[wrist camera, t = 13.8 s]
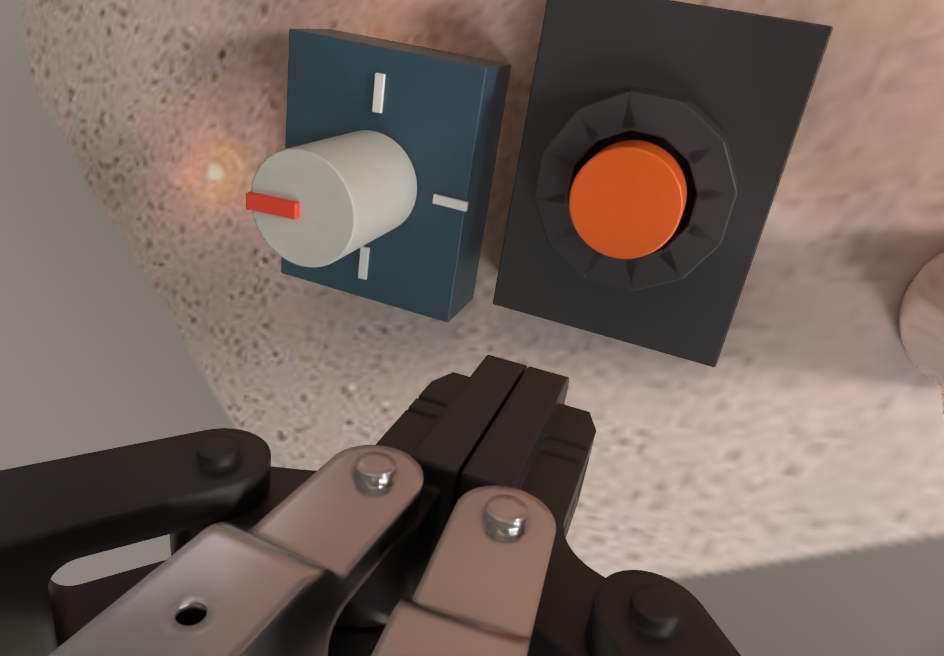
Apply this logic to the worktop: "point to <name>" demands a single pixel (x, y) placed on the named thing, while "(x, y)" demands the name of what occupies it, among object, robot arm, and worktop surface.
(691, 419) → the worktop surface
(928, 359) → the silver metal cup
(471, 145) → the knob panel
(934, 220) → the worktop surface
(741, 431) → the worktop surface
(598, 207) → the button
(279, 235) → the dial
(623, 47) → the orange push button panel
